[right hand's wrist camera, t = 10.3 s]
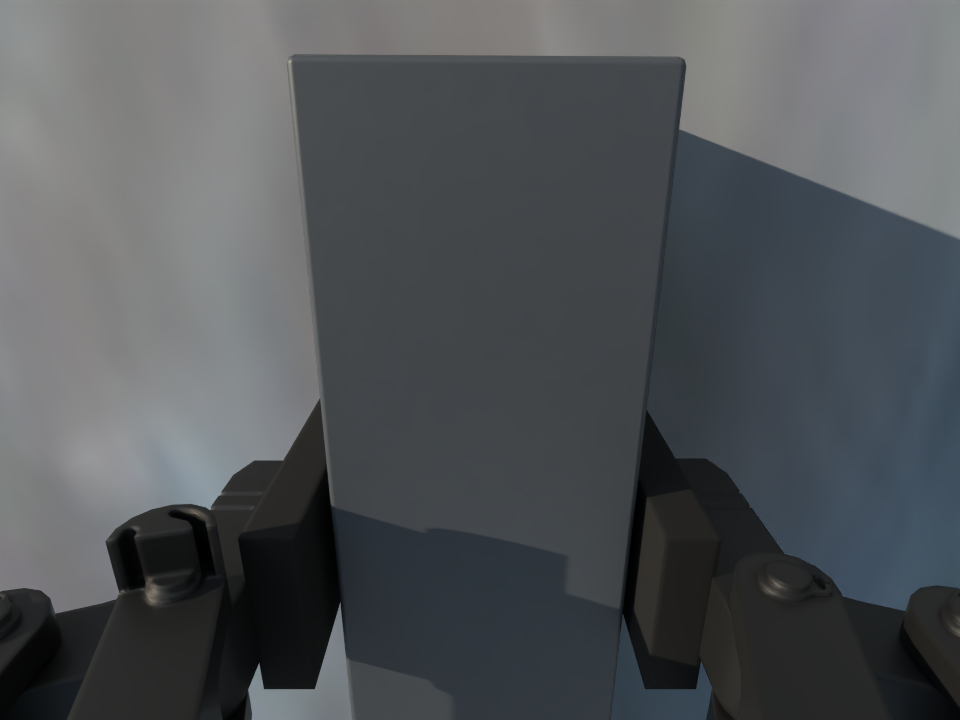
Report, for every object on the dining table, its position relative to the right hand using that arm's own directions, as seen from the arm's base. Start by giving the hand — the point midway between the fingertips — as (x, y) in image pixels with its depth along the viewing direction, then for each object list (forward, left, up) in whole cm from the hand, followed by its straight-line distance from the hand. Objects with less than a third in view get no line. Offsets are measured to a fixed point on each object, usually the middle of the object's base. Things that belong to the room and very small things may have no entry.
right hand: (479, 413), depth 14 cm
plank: (+6, +19, -2) cm, 20 cm away
